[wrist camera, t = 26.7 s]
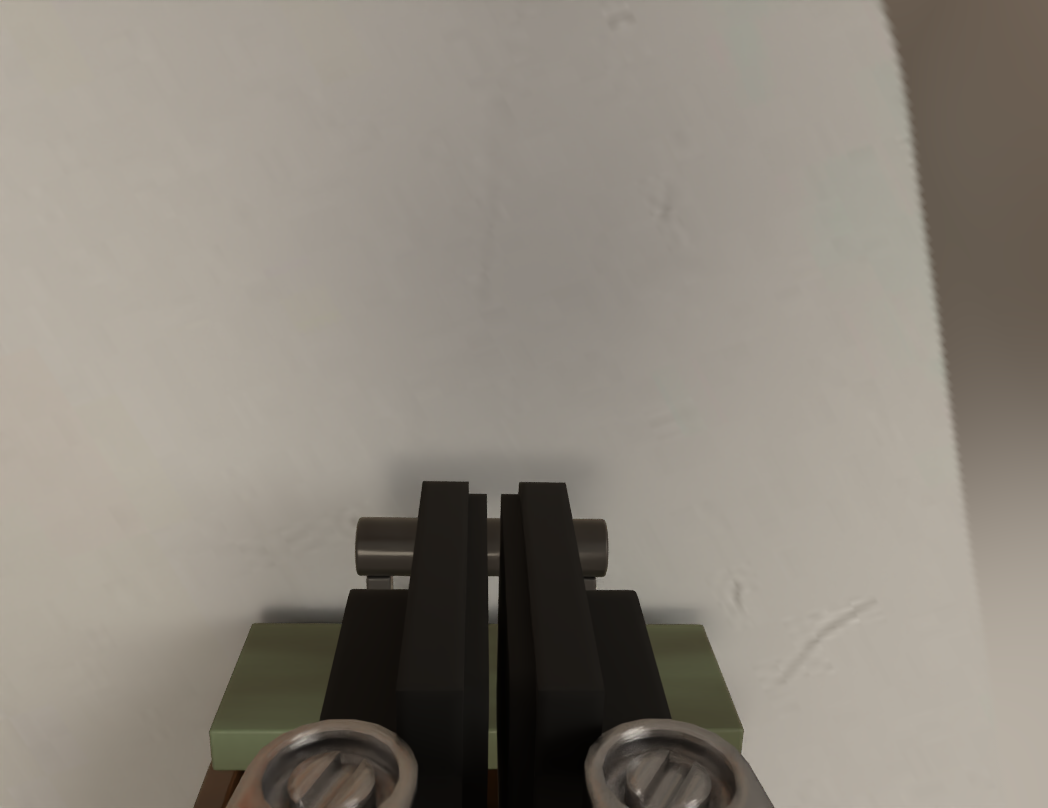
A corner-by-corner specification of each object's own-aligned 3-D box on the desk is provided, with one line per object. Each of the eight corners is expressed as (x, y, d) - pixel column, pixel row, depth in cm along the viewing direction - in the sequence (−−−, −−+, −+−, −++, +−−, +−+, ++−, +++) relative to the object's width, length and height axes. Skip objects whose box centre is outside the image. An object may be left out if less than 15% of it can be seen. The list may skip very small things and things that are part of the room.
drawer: (240, 468, 26) (191, 553, 22) (718, 473, 27) (766, 556, 23) (276, 981, 32) (244, 1130, 28) (667, 975, 33) (697, 1120, 29)
